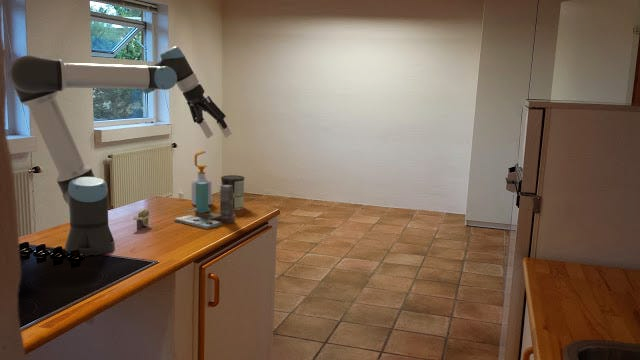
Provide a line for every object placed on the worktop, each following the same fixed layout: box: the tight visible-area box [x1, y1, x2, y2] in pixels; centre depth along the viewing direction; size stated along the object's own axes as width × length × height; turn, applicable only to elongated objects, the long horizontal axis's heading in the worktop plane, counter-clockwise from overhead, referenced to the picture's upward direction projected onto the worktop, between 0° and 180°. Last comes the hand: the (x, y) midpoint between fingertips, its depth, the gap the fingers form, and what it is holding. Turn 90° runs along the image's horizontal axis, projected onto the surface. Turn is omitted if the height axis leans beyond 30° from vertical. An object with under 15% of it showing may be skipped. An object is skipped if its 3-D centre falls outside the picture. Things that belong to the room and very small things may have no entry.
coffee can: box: [220, 174, 245, 211], centre depth 255 cm, size 10×10×14 cm
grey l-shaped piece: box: [194, 184, 237, 225], centre depth 229 cm, size 12×19×15 cm, turn 54°
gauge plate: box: [174, 214, 223, 230], centre depth 226 cm, size 8×19×1 cm, turn 54°
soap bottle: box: [191, 150, 213, 206], centre depth 260 cm, size 9×9×25 cm
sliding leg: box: [182, 182, 212, 214], centre depth 234 cm, size 12×5×12 cm, turn 144°
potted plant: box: [133, 209, 153, 230], centre depth 217 cm, size 12×18×7 cm, turn 173°
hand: (219, 136), depth 217 cm, fingers open, 13 cm apart
